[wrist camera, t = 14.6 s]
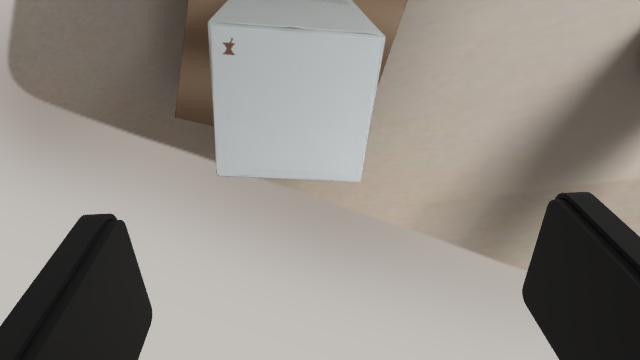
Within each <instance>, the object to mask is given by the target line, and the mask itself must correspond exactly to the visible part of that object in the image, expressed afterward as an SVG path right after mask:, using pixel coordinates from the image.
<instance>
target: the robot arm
mask: <svg viewBox="0 0 640 360" xmlns="http://www.w3.org/2000/svg"><path fill="white" fill-rule="evenodd" d="M522 291H523V292H522V293H523V299H524V302H525V304H526V306H527V307H528V309H529V311H530V312H531V314H532V316H533V317H534V319H535V321H536V322H537V324H538V325H539V327H540V328H541V330H542V332H543V334H544V335H545V337H546V339H547V340H548V342H549V343H550V345H551V347H552V348H553V350H554V352H555V353H556V355H557V356H558V358H559V360H640V237H639V236H638V235H637V234H636V233H635V232H634V231H633V230H631V229H630V228H629V227H628V226H627V225H626V224H625V223H624V222H623V221H621V220H620V219H619V218H618V217H617V216H616V215H615V214H614V213H613V212H611V211H610V210H609V209H608V208H607V207H606V206H605V205H604V204H603V203H602V202H600V201H599V200H598V199H597V198H596V197H595V196H594V195H592V194H591V193H589V192H575V193H561V194H558V196H557V197H556V198H555V200H552V201H550V202H549V204H548V206H547V209H546V213H545V216H544V219H543V222H542V226H541V229H540V232H539V236H538V239H537V242H536V245H535V249H534V252H533V255H532V259H531V262H530V265H529V268H528V272H527V275H526V279H525V282H524V285H523V289H522ZM151 320H152V308H151V304H150V301H149V298H148V295H147V292H146V288H145V285H144V282H143V279H142V276H141V273H140V269H139V266H138V263H137V260H136V257H135V254H134V250H133V247H132V244H131V241H130V237H129V234H128V232H127V228H126V225H125V223H124V222H123V221H122V220H117V219H116V217H115V216H114V215H113V214H94V215H83V216H82V217H81V218H80V219H79V220H78V221H77V223H76V224H75V225H74V227H73V228H72V229H71V231H70V232H69V233H68V235H67V236H66V238H65V239H64V240H63V242H62V243H61V244H60V246H59V247H58V248H57V250H56V251H55V253H54V254H53V255H52V257H51V258H50V259H49V261H48V262H47V263H46V265H45V266H44V268H43V269H42V270H41V272H40V273H39V274H38V276H37V277H36V278H35V280H34V281H33V282H32V284H31V285H30V287H29V288H28V289H27V291H26V292H25V294H24V295H23V296H22V297H21V299H20V300H19V302H18V303H17V304H16V306H15V307H14V308H13V310H12V311H11V313H10V314H9V315H8V317H7V318H6V319H5V321H4V322H3V323H2V325H1V326H0V360H138V358H139V355H140V352H141V349H142V347H143V344H144V341H145V339H146V336H147V333H148V330H149V327H150V325H151Z"/></svg>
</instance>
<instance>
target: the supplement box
mask: <svg viewBox="0 0 640 360" xmlns="http://www.w3.org/2000/svg"><path fill="white" fill-rule="evenodd" d="M208 38H209V54H210V69H211V85H212V100H213V116H214V132H215V151H216V172H217V175H218V176H225V177H252V178H274V179H298V180H320V181H341V182H361V177H362V170H363V164H364V158H365V152H366V146H367V140H368V134H369V129H370V123H371V118H372V112H373V107H374V101H375V96H376V90H377V85H378V79H379V73H380V68H381V62H382V57H383V51H384V46H385V40H386V38H385V35H384V34H383V33H382V32H381V31H380V30H379V29H378V28H377V27H376V26H375V25H374V24H373V23H372V22H371V20H370V19H369V18H368V17H367V16H366V15H365V14H364V13H363V12H362V11H361V10H360V8H359V7H358V6H357V5H356V4H355V3H354V2H353V1H352V0H228V1H227V2H226V3H225V4H224V5H223V6H222V7H221V8H220V9H219V10H218V11H217V12H216V14H214V16H213V17H212V18H211V19H210V20H209V21H208Z"/></svg>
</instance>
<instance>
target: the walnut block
mask: <svg viewBox="0 0 640 360" xmlns="http://www.w3.org/2000/svg"><path fill="white" fill-rule="evenodd" d="M227 1H228V0H188V8H187V17H186V25H185V34H184V43H183V51H182V60H181V69H180V77H179V86H178V95H177V103H176V112H175V117H176V118H181V119H185V120H190V121H194V122H199V123H203V124H208V125H212V126H214V116H213V100H212V85H211V69H210V54H209V38H208V21H209V20H210V19H211V18H212V17H213V16H214V14H216V12H217V11H218V10H219V9H220V8H221V7H222V6H223V5H224V4H225V3H226V2H227ZM352 1H353V2H354V3H355V4H356V5H357V6H358V7H359V8H360V10H361V11H362V12H363V13H364V14H365V15H366V16H367V17H368V18H369V19H370V20H371V22H372V23H373V24H374V25H375V26H376V27H377V28H378V29H379V30H380V31H381V32H382V33H383V34H384V35H385V38H386V40H385V46H384V51H383V57H382V62H381V68H380V73H379V79H378V83H379V81H380V78H381V75H382V72H383V69H384V66H385V63H386V60H387V58H388V55H389V52H390V49H391V46H392V43H393V40H394V37H395V35H396V32H397V29H398V26H399V23H400V20H401V17H402V14H403V11H404V9H405V6H406V3H407V0H352ZM377 86H378V85H377Z"/></svg>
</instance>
